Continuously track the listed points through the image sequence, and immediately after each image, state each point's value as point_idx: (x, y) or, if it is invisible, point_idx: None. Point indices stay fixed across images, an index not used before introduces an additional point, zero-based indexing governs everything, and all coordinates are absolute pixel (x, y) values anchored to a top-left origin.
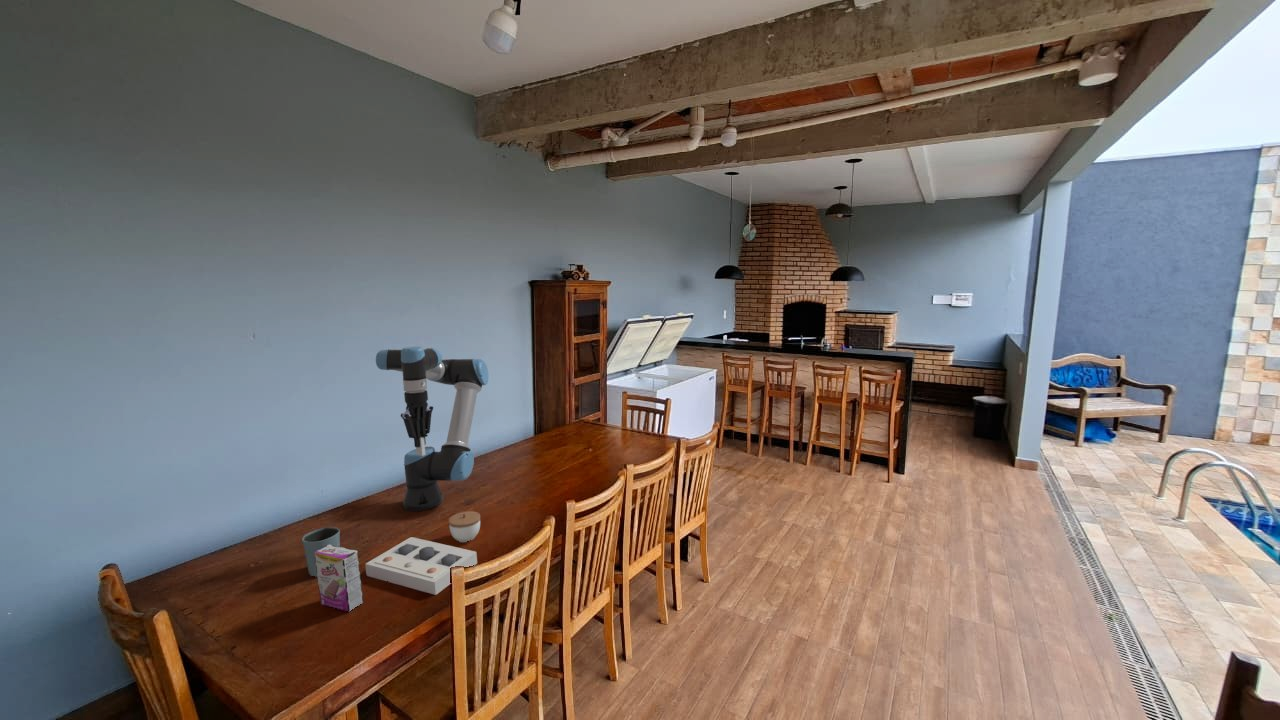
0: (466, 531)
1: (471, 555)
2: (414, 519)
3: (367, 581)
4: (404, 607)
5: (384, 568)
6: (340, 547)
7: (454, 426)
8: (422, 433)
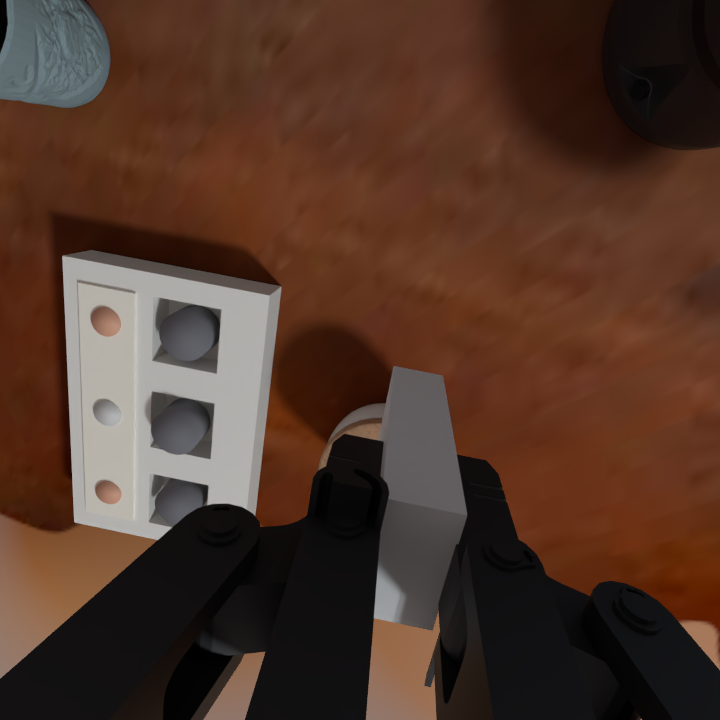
0: None
1: None
2: (511, 125)
3: None
4: (30, 454)
5: (67, 343)
6: None
7: None
8: (441, 676)
